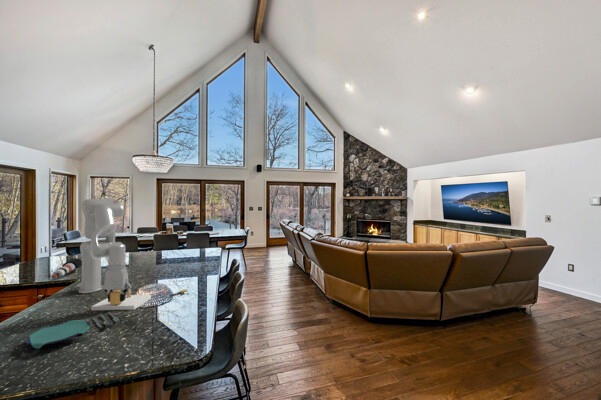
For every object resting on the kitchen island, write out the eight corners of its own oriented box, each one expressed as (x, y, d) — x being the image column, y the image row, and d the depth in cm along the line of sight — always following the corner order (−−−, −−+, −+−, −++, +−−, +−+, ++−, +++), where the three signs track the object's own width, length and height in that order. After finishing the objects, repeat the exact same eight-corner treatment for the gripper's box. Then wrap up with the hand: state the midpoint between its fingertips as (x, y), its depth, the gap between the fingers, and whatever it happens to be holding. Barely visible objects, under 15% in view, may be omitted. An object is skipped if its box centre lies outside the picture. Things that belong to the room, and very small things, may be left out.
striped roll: (55, 267, 183) (65, 277, 186) (77, 256, 215) (85, 265, 217) (41, 276, 180) (51, 286, 183) (64, 263, 212) (73, 272, 214)
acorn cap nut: (107, 304, 133) (107, 293, 133) (114, 300, 138) (115, 289, 139) (118, 304, 133) (118, 293, 133) (125, 300, 139) (125, 289, 139)
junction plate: (91, 310, 132) (91, 298, 132) (112, 298, 148) (112, 288, 148) (134, 309, 133) (134, 298, 133) (151, 298, 149) (151, 287, 149)
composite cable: (170, 297, 151) (171, 293, 151) (168, 295, 155) (168, 291, 155) (188, 293, 158) (188, 289, 158) (185, 291, 161) (185, 287, 161)
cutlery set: (23, 337, 106) (24, 332, 106) (110, 313, 129) (110, 309, 129) (27, 355, 94) (27, 349, 94) (123, 325, 117) (123, 320, 117)
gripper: (95, 269, 132) (94, 304, 132) (128, 268, 133) (128, 303, 132) (105, 265, 140) (105, 298, 139) (137, 265, 140) (137, 298, 140)
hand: (116, 300), depth 136 cm, fingers closed on acorn cap nut, 5 cm apart
